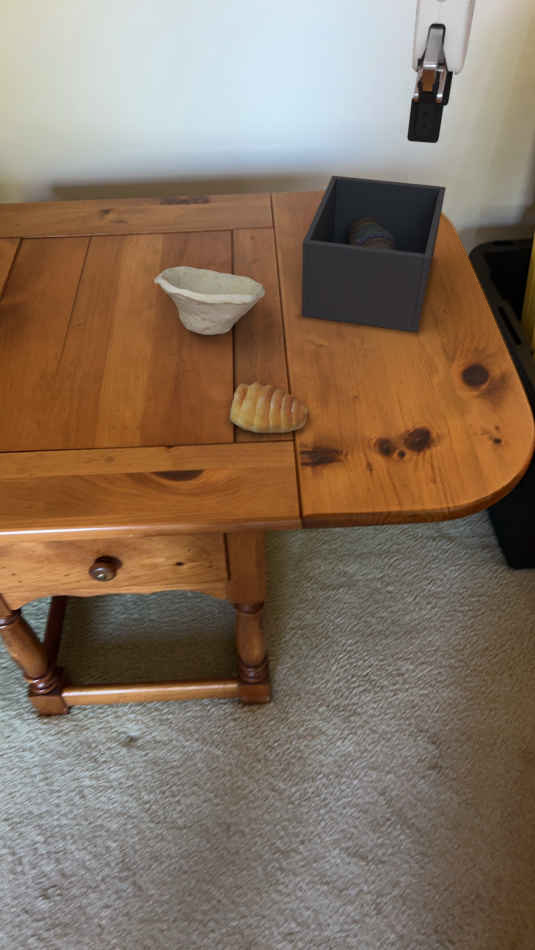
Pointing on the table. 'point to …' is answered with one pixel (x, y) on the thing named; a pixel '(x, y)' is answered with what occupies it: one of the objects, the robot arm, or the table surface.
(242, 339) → the table surface
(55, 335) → the table surface
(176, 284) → the bowl
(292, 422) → the pastry
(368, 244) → the mate gourd
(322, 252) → the trash bin
